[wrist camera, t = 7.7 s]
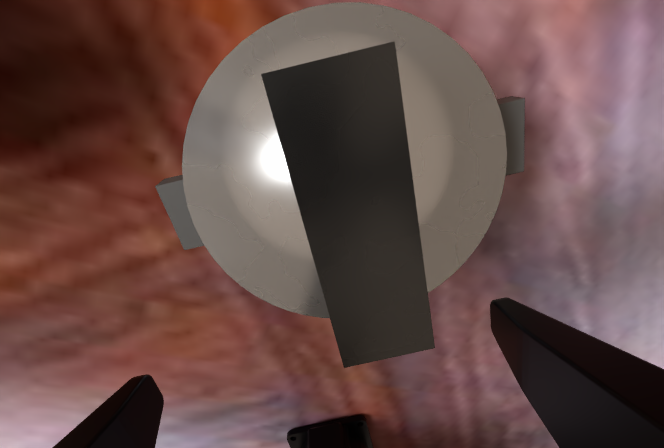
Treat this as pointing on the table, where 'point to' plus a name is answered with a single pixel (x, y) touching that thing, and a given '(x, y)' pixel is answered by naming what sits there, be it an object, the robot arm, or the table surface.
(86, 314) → the table surface
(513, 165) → the cooker pot
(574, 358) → the robot arm
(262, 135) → the cooker lid
